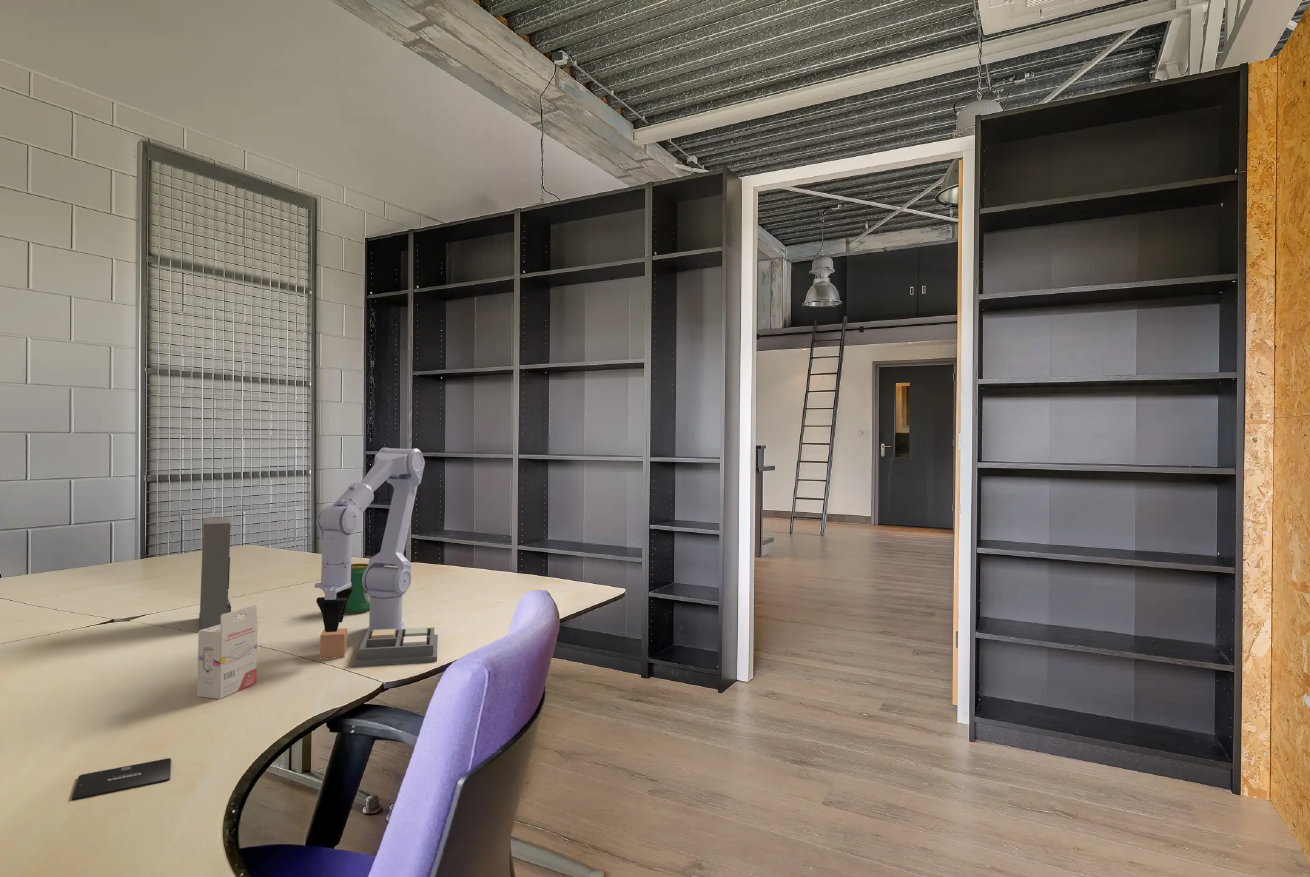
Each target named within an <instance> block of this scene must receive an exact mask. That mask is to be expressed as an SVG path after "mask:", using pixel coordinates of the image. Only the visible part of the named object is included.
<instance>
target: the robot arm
mask: <svg viewBox="0 0 1310 877" xmlns="http://www.w3.org/2000/svg"><path fill="white" fill-rule="evenodd" d="M425 465H426V462H425V459H424V455H423V453H422V451H421V450H420V449H419V448H392V447H391V448H390V447H382V448H380V449H379V450H378V452H377V453H376V454H375V456H374V464H373V465H372V467H371V468H370V469H369V471H368V472H367V474H366V475H365V476H364V477H363V478H362V480H361V481H360V482H354V483H351V484H349V485H348V486H347V489H346V490H345V491H344V492H343V493H342V494H341V496H339V498H338V499H337V500H336V501H335V502H334V503H333V504H332V505H327V506H325V507H324V508H323V509H321V510H320V512H319V513H318V516H317V519H316V520H315V521H316V522H315V523H316V527H317V529H318V531H319V539H320V541H321V542H322V544H321V545H322V546H321V548H322V549H321V571H320V573H321V575H320V582H316V583H315V584H314V585H313V587H314V588H315V589H321V590H322V591H323V594H324V596H321V597H319V596H318V597H316V605H317V606H318V607H319V610H320V612H321V617H322V622H323V627H324V629H325V631H326V632H336V631H337V629H339V625H340V623H342V622H343V620H344V617H345V609H346V604H347V601H348V598H349V596H350V594H351V592H352V590H353V588H352V587H351V564H352V556H353V555H352V553H353V551H352V550H353V548H352V546H353V533H354V532H355V531H356V530H357V529H358V527H359V526H360V520H361V518H362V517H363V516H362V515H363V513H364V512H365V510H366V509H367V508H368V507H369V506H370V504H371V503H372V502H373V501H374V498H375V495H374V492H375V491H376V490H378V488H379V487H381V485H383V484H384V483H385V482H386V483H387V484H390V485H392V488H393V493H392V498H391V502H390V506H389V507H390V508H389V511H388V516H387V520H386V524H385V530H384V533H383V537H382V543H381V545H380V546H381V547H380V551H379V552H378V553H377V554H375V555H374V556H372V557H371V558H370V559H369V560H368V563H367V564H368V566H367V569H366V570H365V572H364V574H363V578H362V584H363V587H364V589H365V590H366V591H367V595H370V611H369V620H368V624H369V625H368V628H367V629H366V632H367V631H371V630H382V629H405V623H404V622H402V621H403V620H402V618H403V616H402V615H403V595H405V594H406V592H407V591H408V590H409V588H410V587H411V583H412V562H410V561H409V560H408V559H407V558H406V557H405V555H404V551H405V549H406V548H405V547H406V544H407V543H406V542H407V537H408V533H409V528H410V523H411V519H412V515H413V510H414V509H413V508H414V505H415V501H416V494H417V492H418V491H417V490H418V486H419V485H421V482H422V479H423V478H422V477H423V473H424V470H425Z"/></svg>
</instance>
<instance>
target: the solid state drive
mask: <svg viewBox="0 0 1310 877" xmlns="http://www.w3.org/2000/svg"><path fill="white" fill-rule="evenodd" d="M171 769H172V758H169V757H166V758H162V759H157V760H151V761H147V762H142V763H137V764H132V765H131V764H130V765H125V766H120V767H115V768H108V769H104V770H99V771H93V772H88V773H83V774H80V775H78V778H77V781H76V783H75V787H74V790H73V793H72V796H71V801H77V800H78V801H79V800H82V799H88V798H92V797H96V796H101V795H107V794H112V793H118V792H121V791H126V790H127V791H128V790H131V789H136V788H142V787H146V786H151V785H152V786H153V785H155V784H161V783H166V782H169V781H171Z"/></svg>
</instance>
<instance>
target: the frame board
mask: <svg viewBox="0 0 1310 877" xmlns="http://www.w3.org/2000/svg"><path fill="white" fill-rule="evenodd" d="M438 636H439V634H435V627H409V628H408V627H406V628H403V629H382V630H371V631H367V630H366V631H365V634H364V637H363V638H362V640H361V643H360V646H359V648H358V651H357V654H356V655H355V658H354V659H353V667H354V666H356V667H368V666H369V667H371V666H384V665H386V666H387V665H388V666H389V665H401V664H402V663H405V664H417V663H418V664H419V663H433V662H434V663H436V662H435V661H438V642H439V637H438Z"/></svg>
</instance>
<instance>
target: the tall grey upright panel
mask: <svg viewBox="0 0 1310 877" xmlns="http://www.w3.org/2000/svg"><path fill="white" fill-rule="evenodd" d="M202 519H203V520H202V522H203V523H202V548H201V549H202V550H201V573H200V575H201V577H200V597H199V599H200V601H199V602H200V605H199V614H198V619H199V622H198V623H199V630H203V629H206V628H209V627H213V626H216V625H219V624H221V620H220V617H221V615H222V614H226V613H229V612H232V606H231V602H230V599H229V590H230V573H231V572H230V565H231V556H230V551H231V546H230V545H231V527H232V526H231V521H230V520H229V517H203V518H202Z"/></svg>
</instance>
